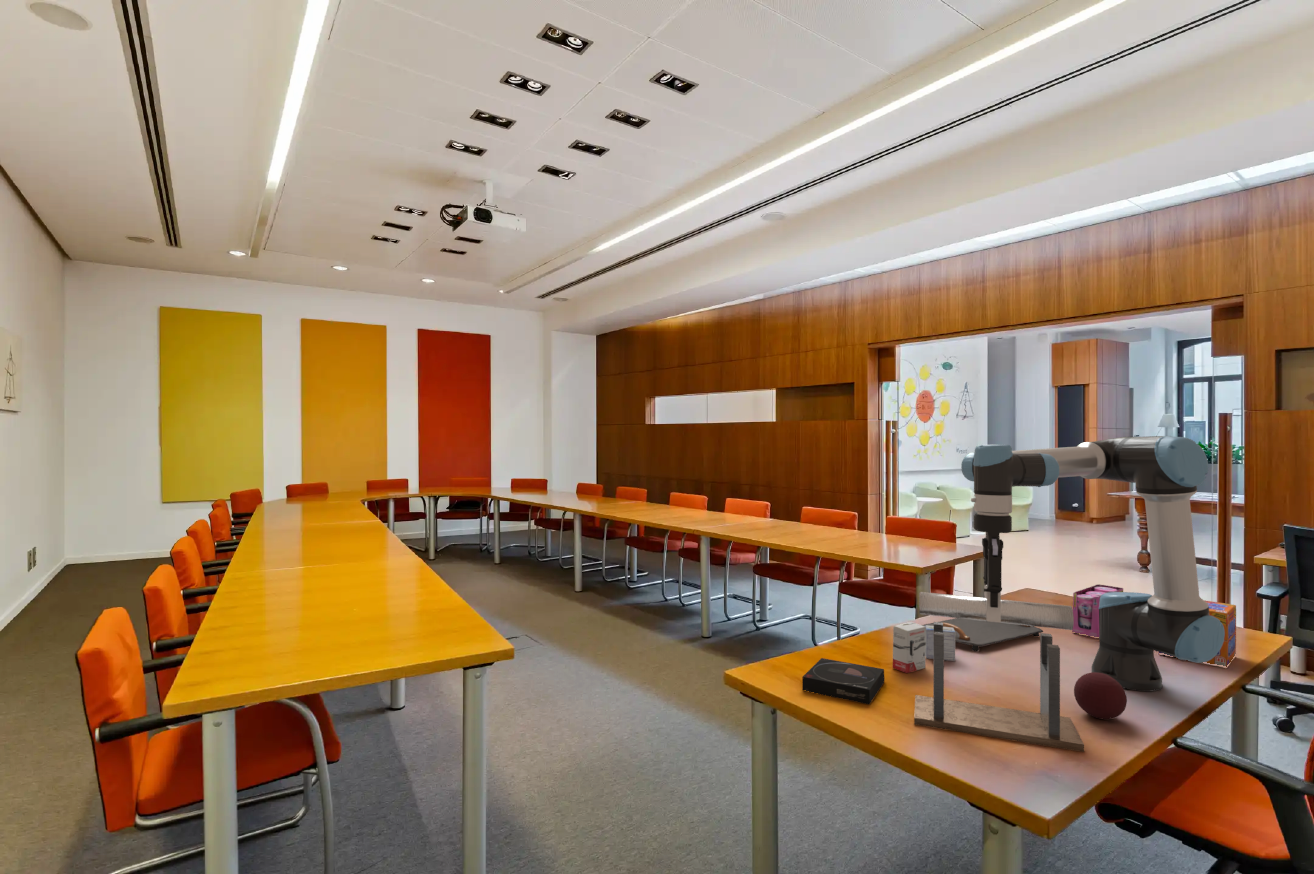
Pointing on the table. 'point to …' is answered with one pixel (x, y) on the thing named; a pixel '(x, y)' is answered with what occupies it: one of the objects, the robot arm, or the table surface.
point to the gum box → (1089, 608)
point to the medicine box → (948, 643)
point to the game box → (1228, 619)
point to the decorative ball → (1100, 695)
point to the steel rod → (1009, 610)
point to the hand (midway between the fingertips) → (992, 617)
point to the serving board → (986, 631)
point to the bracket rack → (998, 720)
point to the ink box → (909, 647)
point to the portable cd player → (844, 680)
